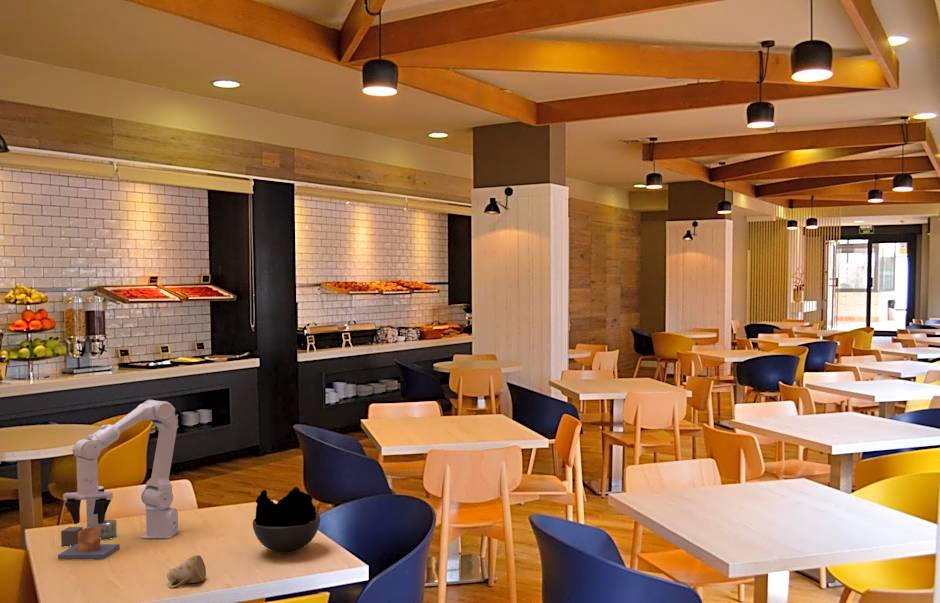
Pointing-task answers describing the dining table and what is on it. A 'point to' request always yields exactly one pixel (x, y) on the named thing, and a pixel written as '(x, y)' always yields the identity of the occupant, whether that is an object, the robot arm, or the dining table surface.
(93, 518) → the grey blue tall box
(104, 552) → the blue-grey rectangular slab
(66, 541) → the black rubber block
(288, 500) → the bowl of black rocks
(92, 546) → the terracotta block
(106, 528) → the grey cube
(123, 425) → the robot arm
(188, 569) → the beige lumpy soft piece
